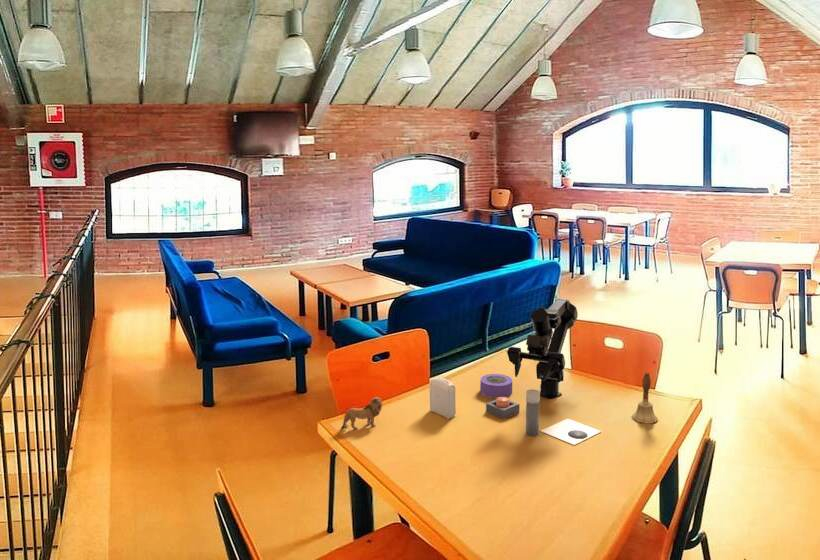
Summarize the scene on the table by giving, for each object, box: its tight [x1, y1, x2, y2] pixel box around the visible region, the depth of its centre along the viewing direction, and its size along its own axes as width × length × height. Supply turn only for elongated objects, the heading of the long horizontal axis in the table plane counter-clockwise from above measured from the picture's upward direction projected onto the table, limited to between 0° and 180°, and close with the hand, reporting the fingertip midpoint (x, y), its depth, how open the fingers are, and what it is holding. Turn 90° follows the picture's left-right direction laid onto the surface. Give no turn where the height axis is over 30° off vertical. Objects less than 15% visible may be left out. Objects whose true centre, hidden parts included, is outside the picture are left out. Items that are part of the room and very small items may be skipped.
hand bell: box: [631, 372, 659, 424], centre depth 220 cm, size 8×8×16 cm
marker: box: [525, 389, 541, 437], centre depth 211 cm, size 4×4×14 cm
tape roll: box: [479, 373, 513, 399], centre depth 247 cm, size 12×12×5 cm
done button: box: [495, 397, 511, 408], centre depth 228 cm, size 5×5×4 cm
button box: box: [485, 399, 520, 420], centre depth 229 cm, size 8×8×3 cm
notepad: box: [540, 418, 602, 446], centre depth 213 cm, size 14×13×1 cm
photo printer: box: [429, 377, 457, 419], centre depth 227 cm, size 10×4×12 cm, turn 39°
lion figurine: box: [340, 396, 383, 431], centre depth 218 cm, size 15×5×9 cm, turn 116°
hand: (529, 378), depth 218 cm, fingers open, 9 cm apart
